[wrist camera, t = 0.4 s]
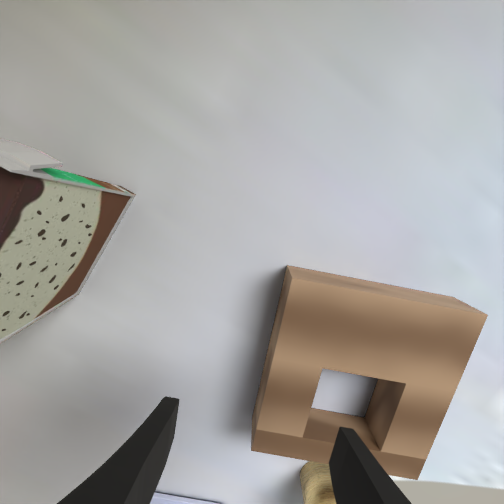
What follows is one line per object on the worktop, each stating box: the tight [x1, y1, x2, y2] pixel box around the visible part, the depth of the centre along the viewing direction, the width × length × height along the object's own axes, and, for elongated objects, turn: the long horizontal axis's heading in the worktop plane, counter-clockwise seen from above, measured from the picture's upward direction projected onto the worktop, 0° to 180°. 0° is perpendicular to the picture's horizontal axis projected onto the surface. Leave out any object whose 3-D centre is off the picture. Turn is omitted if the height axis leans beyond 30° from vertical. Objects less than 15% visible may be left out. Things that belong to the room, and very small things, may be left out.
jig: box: [251, 265, 488, 480], centre depth 20 cm, size 14×13×3 cm
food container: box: [0, 138, 136, 344], centre depth 14 cm, size 12×6×10 cm, turn 145°
